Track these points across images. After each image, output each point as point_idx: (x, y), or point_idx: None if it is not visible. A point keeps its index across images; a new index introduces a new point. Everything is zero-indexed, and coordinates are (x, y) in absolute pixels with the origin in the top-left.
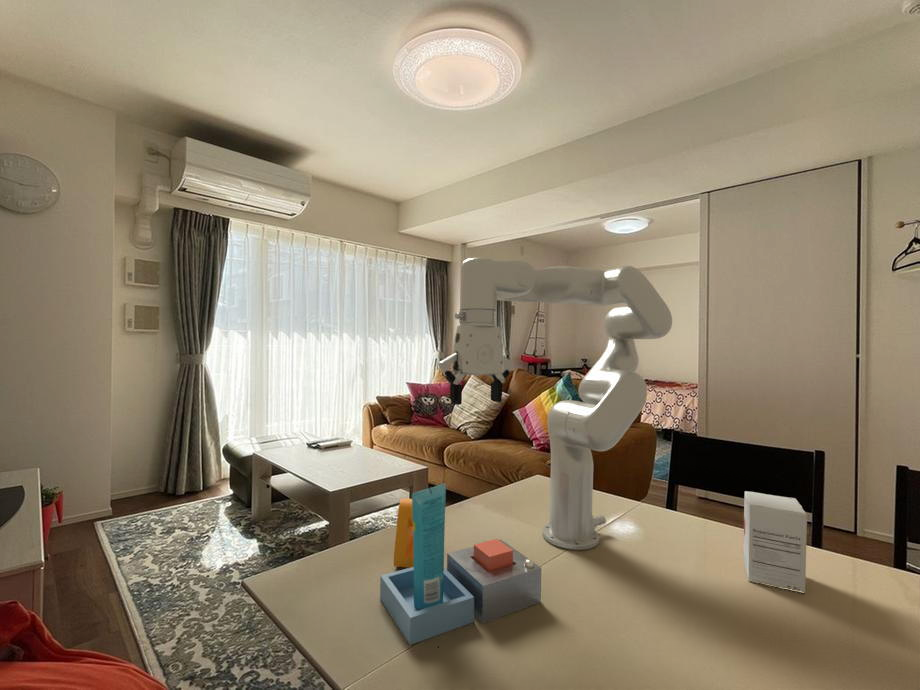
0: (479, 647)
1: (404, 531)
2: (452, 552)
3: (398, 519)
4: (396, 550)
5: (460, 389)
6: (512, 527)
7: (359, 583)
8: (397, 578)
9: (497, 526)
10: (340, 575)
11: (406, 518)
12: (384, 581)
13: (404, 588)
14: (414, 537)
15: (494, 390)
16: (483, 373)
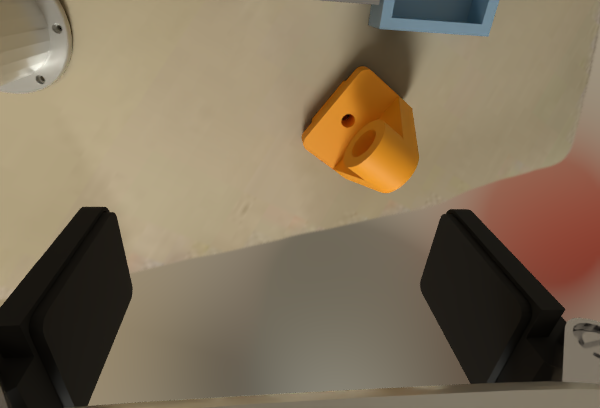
0: None
1: (404, 123)
2: (368, 1)
3: (416, 144)
4: (410, 112)
5: (520, 276)
6: (116, 134)
7: (465, 92)
8: (461, 22)
9: (146, 153)
10: (472, 128)
11: (405, 137)
12: (494, 13)
13: (438, 19)
14: None
15: (94, 318)
16: (358, 396)
